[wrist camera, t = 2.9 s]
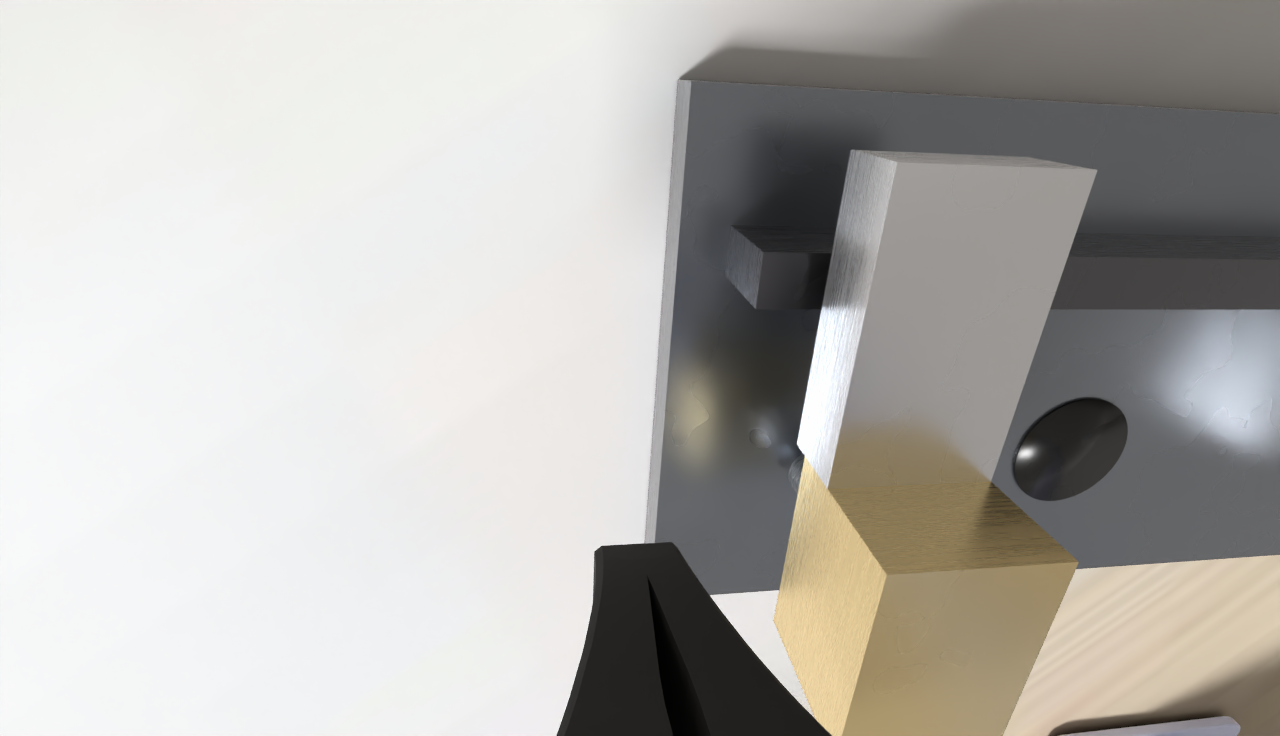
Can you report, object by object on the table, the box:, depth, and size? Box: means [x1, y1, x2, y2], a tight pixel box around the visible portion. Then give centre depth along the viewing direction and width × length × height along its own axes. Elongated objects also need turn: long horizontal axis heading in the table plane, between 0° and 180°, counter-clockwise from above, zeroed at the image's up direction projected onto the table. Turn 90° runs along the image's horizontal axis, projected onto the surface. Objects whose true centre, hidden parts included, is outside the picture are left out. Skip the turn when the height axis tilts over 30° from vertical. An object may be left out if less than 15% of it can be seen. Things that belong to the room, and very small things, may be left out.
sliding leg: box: [773, 150, 1097, 736], centre depth 11 cm, size 9×3×5 cm, turn 177°
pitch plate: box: [645, 80, 1280, 595], centre depth 14 cm, size 12×25×7 cm, turn 87°
